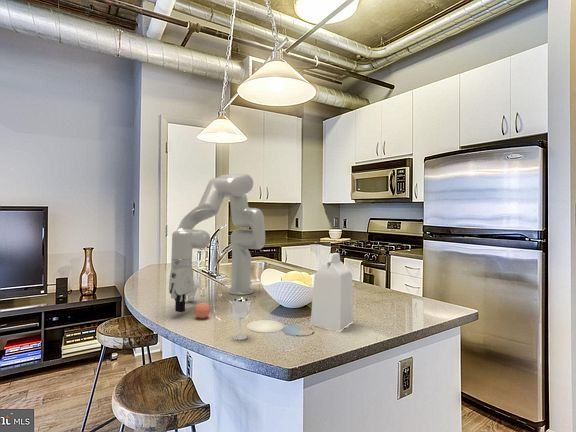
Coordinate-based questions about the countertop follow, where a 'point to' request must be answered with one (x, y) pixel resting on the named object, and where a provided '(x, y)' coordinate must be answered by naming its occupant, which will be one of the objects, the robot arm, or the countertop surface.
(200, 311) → the ball
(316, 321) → the milk
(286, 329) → the disc
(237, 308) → the wineglass
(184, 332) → the countertop surface
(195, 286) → the light bulb
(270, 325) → the disc
